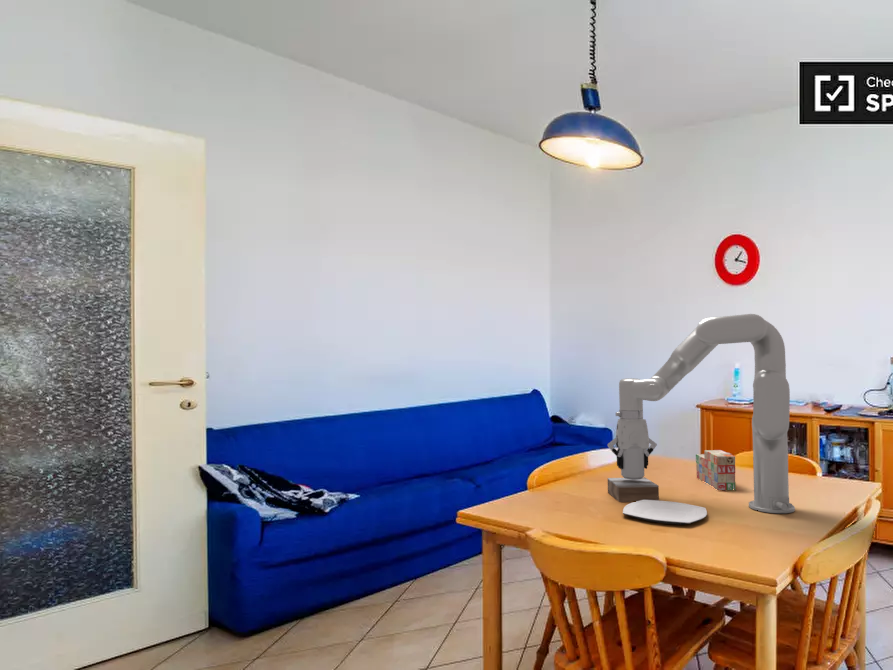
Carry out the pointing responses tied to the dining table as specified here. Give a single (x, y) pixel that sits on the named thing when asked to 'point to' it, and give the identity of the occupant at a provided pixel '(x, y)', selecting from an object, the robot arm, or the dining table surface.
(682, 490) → the dining table surface
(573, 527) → the dining table surface
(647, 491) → the riser
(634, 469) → the can
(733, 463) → the stack of blocks
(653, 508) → the plate
